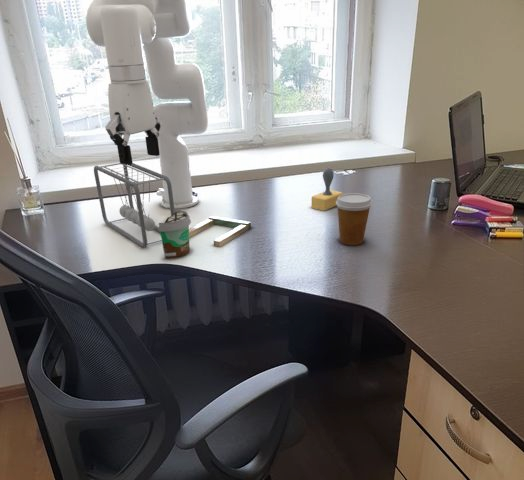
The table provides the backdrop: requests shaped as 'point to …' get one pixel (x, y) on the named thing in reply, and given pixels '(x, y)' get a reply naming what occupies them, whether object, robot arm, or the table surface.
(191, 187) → the robot arm
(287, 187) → the table surface
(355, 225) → the disposable coffee cup
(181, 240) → the food container
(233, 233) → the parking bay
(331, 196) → the rubber stamp
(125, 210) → the newton's cradle
